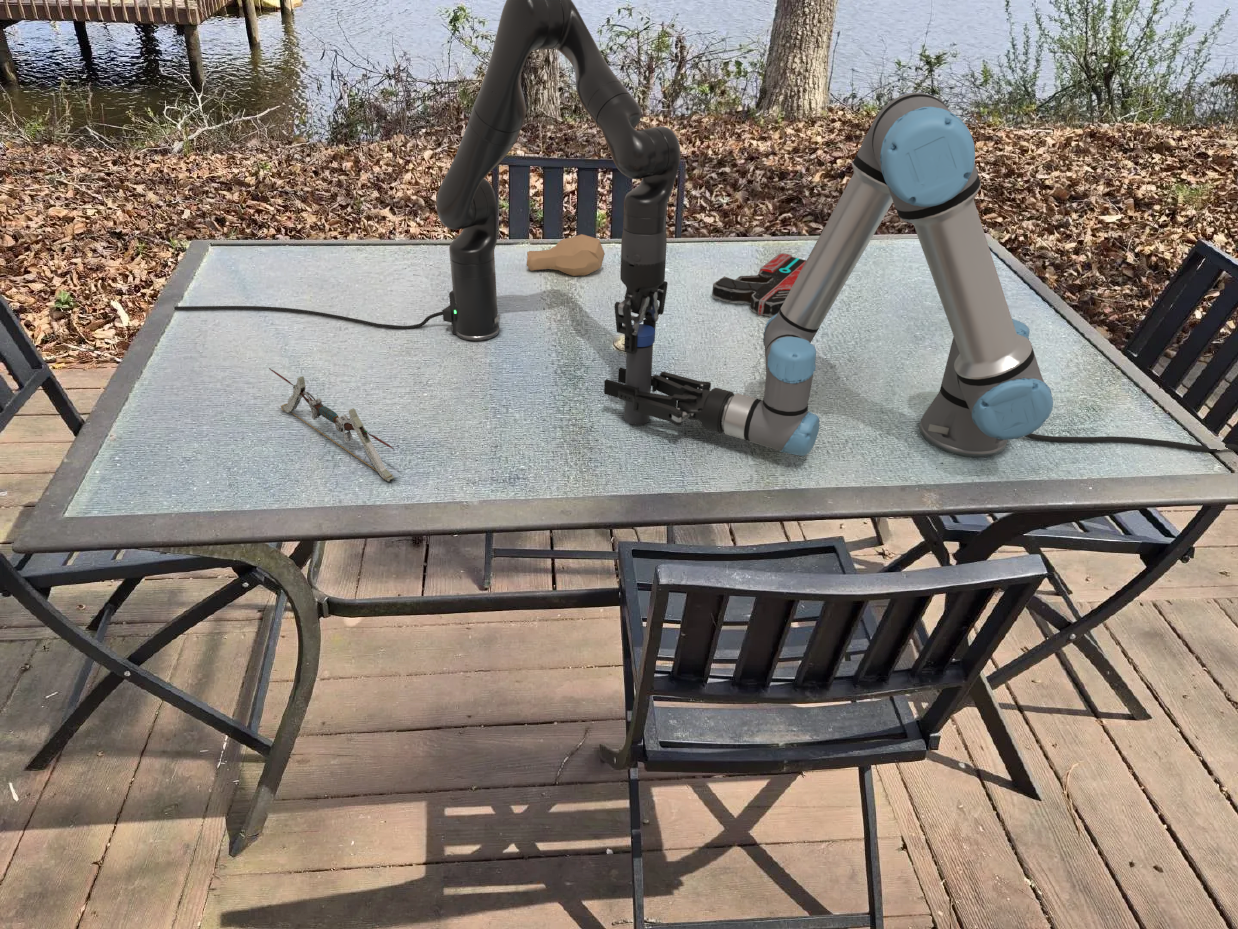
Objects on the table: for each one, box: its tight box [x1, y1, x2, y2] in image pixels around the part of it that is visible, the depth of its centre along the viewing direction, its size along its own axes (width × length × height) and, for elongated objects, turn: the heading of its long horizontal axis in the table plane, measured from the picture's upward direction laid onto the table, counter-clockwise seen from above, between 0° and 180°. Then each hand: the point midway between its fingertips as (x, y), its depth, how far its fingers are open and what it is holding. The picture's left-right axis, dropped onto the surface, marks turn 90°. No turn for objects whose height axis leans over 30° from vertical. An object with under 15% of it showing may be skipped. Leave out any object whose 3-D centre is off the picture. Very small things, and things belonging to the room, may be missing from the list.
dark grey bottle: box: [623, 343, 654, 426], centre depth 159 cm, size 5×5×18 cm
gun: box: [711, 252, 807, 318], centre depth 215 cm, size 4×31×19 cm
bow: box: [269, 367, 396, 483], centre depth 151 cm, size 39×2×10 cm, turn 47°
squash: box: [526, 233, 606, 277], centre depth 222 cm, size 11×20×9 cm, turn 90°
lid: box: [632, 323, 656, 347], centre depth 154 cm, size 5×5×2 cm
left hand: (639, 345), depth 155 cm, fingers open, 5 cm apart
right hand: (612, 380), depth 162 cm, fingers closed on dark grey bottle, 5 cm apart
